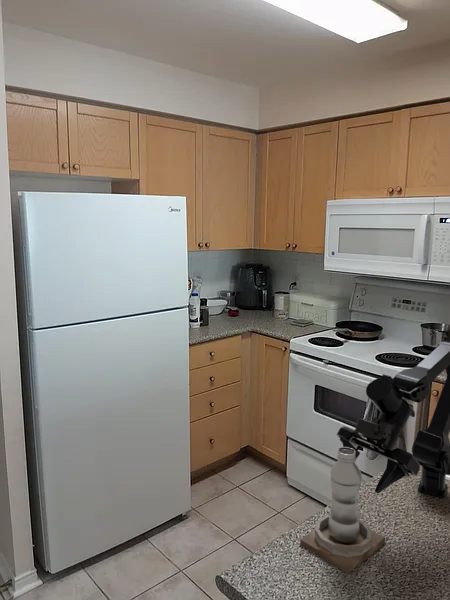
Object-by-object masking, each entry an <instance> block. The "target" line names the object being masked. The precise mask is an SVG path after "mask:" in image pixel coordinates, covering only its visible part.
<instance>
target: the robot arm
mask: <svg viewBox="0 0 450 600" xmlns="http://www.w3.org/2000/svg"><path fill="white" fill-rule="evenodd" d="M444 371H445V373H446V378H445V380H444V383H443V386H442V389H441V392H440V395H439V396H438V400H437V403H436V404H435V405H436V406H435V408H434V411H433V414H432V416H431V420H430V423H429V426H428V427H427V428H425V429H423V430H421V429H420V430H419V431H417V433H416V437H415V440H414V442H412V446H411V452H409V451H406V450H404V449H401V448H399V447H395V446H396V444H397V441H398V440H402V439H403V437H404V435H403V434H402V431H403V430H404V428H405V425H407V423H408V420H409V419H410V417H411V418H414V417H416V416H415V415H416V414H415V413H416V412H415V409H414V405H413V404H412V403H411V404H410V403H409V402H408V401H410V402H414V403H418V404H420V403H422V402H423V401H424V400H425V399H426V398H427V396H428V394H429V393H430V392H431V384H432V382H434V380H435V379H437V378H438V377H439V376H440V375H441V374H442V373H443V372H444ZM365 393H366V396H367V397H368V399H369V401H371V402H372V404H373V405H374V406H375V408H377V410H378V411H379V412H380V414H379V415H378V417H376V416H374V417H373V418H372V419H371V421H370V420H367V419H363V418H360V417H358V419H357V422H356V425H355V429H354V428H350V427H348V426H342V427H340V428H339V429H338V431H337V433H336V436H337V437H338V438H339V441H340V442H341V443H342V447H349V448H352V449H354V450H355V452H356V460H357V458H359V456H360V454H361V452H360V451H359V450H362V449H365V450H367V451H371V452H372V453H375V454H377V455H379V456H381V457H384V458H386V459H387V460H386V467H385V470H384V471H383V474H382V475H381V477H380V478H379V481H378V482H377V485H376V487H375V489H374V492H375V493H376V494H380V493H381V492H383V491H384V490H385V489H387V488H388V487H390V486H391V485H393V484H394V483H396V482H398V481H399V480H401V479H402V478H404V477H407V478H410V476H411V475H412V476H415V477H417V476H418V474H419V471H420V470H421V474H420V475H421V476H420V478H421V479H420V481H419V483H418V487H417V491H418V492H419V493H424V494H427V495H431V496H436V497H439V498H440V497H441V498H443V499H444V498H445V497H446V495H447V490H448V484H447V483H446V476H447V475H450V437H449V434H450V341H445V340H443V341H440V342H439V343H438V344H437V347H436V348H434V350H432V352H430V353H429V354H428V355H427V356H426V357H425V358H424V359H423V360H422V361H420V362H419V363H418V364H417V365H416V366H414V367H411V368H405V369H403V370H401V371H399V372H398V373H396V374H395V375H394V376H393V377H392V375H391V376H390V375H386V374H382V375H381V377H380V378H376V379H373V381H371V382H369V383H368V384H367V386H366V388H365ZM394 447H395V448H394Z"/></svg>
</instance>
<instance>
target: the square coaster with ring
mask: <svg viewBox="0 0 450 600" xmlns="http://www.w3.org/2000/svg"><path fill="white" fill-rule="evenodd" d="M329 517H330V514H326V515H325V514H324V516H322V517H321V518H319V519H317V520H316V523H315V528H314V530H312V531H310V532H309V533H308V534H306V535H305V536H303V537H301V538H300V542H299V544H300V546H302V547H304V548H305V549H307V550H308V551H310V552H312V553H314V554H315V555H317V556H319V557H320V558H322V559H324V561H327V562H328V563H330V564H332V565H333V566H335V567H336V568H338V569H340V570H341V571H343V572H345V573H346V574H349V573H350V572H352V571H353V570H354V569H355V568H357V566H359V565H360V564H361V563H362V562H363V561H365V560H366V559H368V557H369V556H370V555H372V554H373V553H374V552H375V551H377V550H378V549H379V548H380V547H381V546H383V545H384V543H385V544H386V536H384V535H381V533H378V532H376V531H375V530H372V529H371V528H370V527H369V525H367V523H366V522H365V521H363V520H361V519H359V518H358V520H359V527H360V531H359V535H358V538H357V539H356V540H355V541H354V542H351V543H342V542H339V541H337V540H335V539H334V538H333V537H332V536H331V534H330V533H329V528H328V522H329Z"/></svg>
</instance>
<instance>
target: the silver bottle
mask: <svg viewBox="0 0 450 600" xmlns="http://www.w3.org/2000/svg"><path fill="white" fill-rule="evenodd" d="M336 459H337V460H336V461H335V462H334V464H333V465H332V467H331V469H330V482H331V495H332V496H331V507H330V514H329V515H330V517H329V522H328V528H329V533H330V534H331V536H332V537H333V538H334V539H335V540H337V541H339V542H342V543H351V542H354V541H355V540H356V539H357V538H358V535H359V531H360V527H359V520H358V519H359V509H358V507H359V494H360V489H361V485H362V478H363V476H362V472H361V470H360V467H359V466H358V465H357V463H356V460H357V459H356V452H355V450H354V449H352V448H349V447H343V446H341V447H340V446H339V447H338V448H337V456H336Z"/></svg>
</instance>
